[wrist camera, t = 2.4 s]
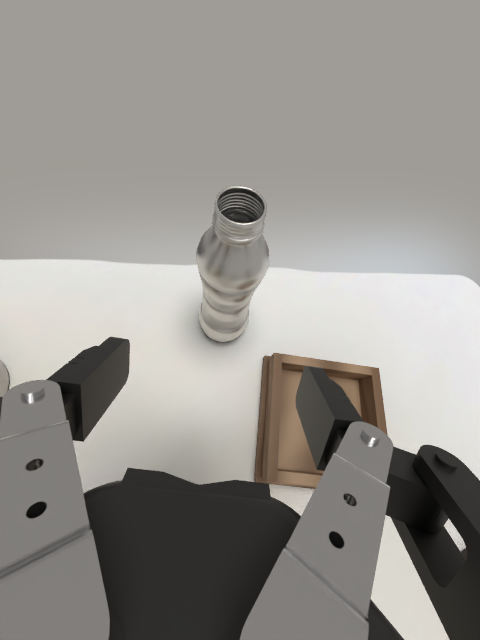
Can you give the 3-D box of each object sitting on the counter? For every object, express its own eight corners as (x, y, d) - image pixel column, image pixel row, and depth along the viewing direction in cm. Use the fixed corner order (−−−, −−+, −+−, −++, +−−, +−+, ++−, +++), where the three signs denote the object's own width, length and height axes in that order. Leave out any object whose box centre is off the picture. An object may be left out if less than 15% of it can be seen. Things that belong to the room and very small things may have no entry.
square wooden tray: (254, 480, 28) (261, 486, 24) (263, 357, 34) (270, 348, 30) (376, 494, 29) (400, 502, 25) (363, 372, 35) (382, 364, 31)
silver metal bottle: (248, 306, 37) (289, 180, 19) (242, 350, 34) (285, 251, 16) (204, 298, 37) (203, 163, 19) (194, 343, 34) (183, 232, 16)
